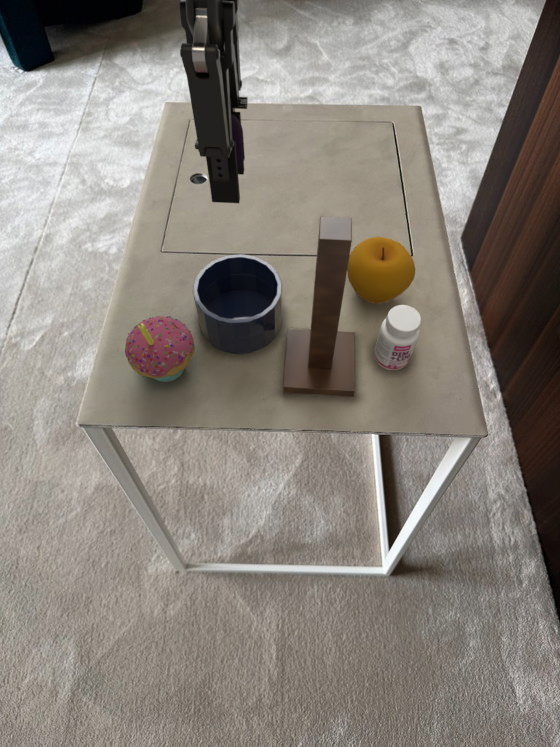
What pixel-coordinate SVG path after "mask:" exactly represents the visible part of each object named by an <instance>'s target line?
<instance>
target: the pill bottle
mask: <svg viewBox="0 0 560 747" xmlns="http://www.w3.org/2000/svg"><path fill="white" fill-rule="evenodd" d="M421 324H422V316H421V315H420V312H419V311H418V310H417V309H416V308H414V307H413V306H410V305H408V304H407V305H406V304H398V305H395V306H393V307H392V308H391V309H389V311H388V313H387V315H386V317H385V319H383V321H382V323H381V325H380V329H379V333H378V335H377V339H376V343H375V347H374V351H373V356H374V357H373V358H374V359H375V362H376V363H377V365H379V366H380V367H381V368H383V369H385V370H388V371H399V370H401V369H403V368H405V367H406V366H407V365H408V364H409V362H410V360H411V358H412V354H413V353H414V349H415V347H416V345H417V342H418V340H419V337H420V326H421Z"/></svg>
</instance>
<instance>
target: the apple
mask: <svg viewBox="0 0 560 747" xmlns="http://www.w3.org/2000/svg"><path fill="white" fill-rule="evenodd" d="M346 275H347V278H348V279H347V280H348V282H349V284H350V285H351V287H352V289H353V291H354V293H356V295H357V296H358V297H360V298H361V299H363V300H364V301H366V302H368V303H370V304H374V305H375V304H383V303H386V302H388V301H391V300H393V299H395V298H397V297H399V296H401V295H402V294H403V293H404V292H406V290H408V288H409V287H410V285H411V284H412V283H413V281H414V280H415V275H416V265H415V262H414V259H413V256H412V255H411V254H410V252H409V251H408V249H406V247H405V246H404V245H403V244H402V243H401V242H399V241H396V240H394V239H392V238H389V237H388V238H387V237H382V236H373V237H368V238H366V239H364V240H363V241H361V242H360V243H358V244H356V246H355V247H354V248H353V249H352V251H350V256H349V262H348V268H347V274H346Z"/></svg>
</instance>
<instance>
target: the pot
mask: <svg viewBox="0 0 560 747" xmlns="http://www.w3.org/2000/svg"><path fill="white" fill-rule="evenodd" d="M279 274H280V273H279V272H278V271H277V270H276V269H275V268H274V267H273V266H272V265H271V263H269V262H268V261H265V260H263V259H262V258H260V257H258V256H254V255H248V254H243V253H240V254H228V255H225V256H221V257H219V258H215V259H213V260H212V261H210V262H208V263H207V264H206V265H204V266H203V267H202V268H201V269H200V271H199V272H198V274H197V275H196V277H194V282H193V287H192V294H193V300H194V305H195V309H196V314H197V318H198V319H197V320H198V323H199V327H200V331H201V334H202V335H203V337H204V339H205V340H206V341H207V342H208V344H210V345H211V346H212V347H213V348H214V349H216V350H219V351H221V352H224V353H227V354H232V355H247V354H252V353H255V352H259V351H260V350H263V349H265V348H266V347H267V346H269V345H270V344H272V342H274V340H275V339H276V338H277V336H278V335H279V332H280V330H281V327H282V319H283V282H282V280H281V277H280V275H279Z"/></svg>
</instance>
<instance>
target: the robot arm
mask: <svg viewBox="0 0 560 747" xmlns="http://www.w3.org/2000/svg"><path fill="white" fill-rule="evenodd" d="M239 2H240V0H179V13H180V14H179V15H180V23H181V27H182V28H183V30H184V31H185V32H184V33H185V39H186V42H183V43H181V45H180V51H179V55H180V56H179V57H181V61H182V65H183V69H184V72H185V76H186V80H187V85H188V86H187V87H188V93H189V99H190V104H191V110H192V116H193V122H194V128H195V134H196V140H195V143H194V148H195V150H198V153H199V156H200V157H201V158H202V157H203V158H204V157H205V159H206V160H205V161H206V167H207V175H208V181H209V182H208V183H209V189H210V190H209V191H210V195H211V202H212V203H222V204H240V201H241V194H240V181H239V175H241V176H244V174H245V161H244V162H243V164H242V165H241V166H240V167H237V155H236V143H235V141H233V139H232V125H231V114H233V115H234V116H235V117H236V118H237V119H238V120H239V121H240V123H241V124H242V116H241V115H242V114H241V111H236V110H248V102H249V100H248V96H240V91H241V90H242V87H243V80H242V74H241V57H240V41H239V40H240V39H239V29H240V27H239V18H238V9H239Z"/></svg>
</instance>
